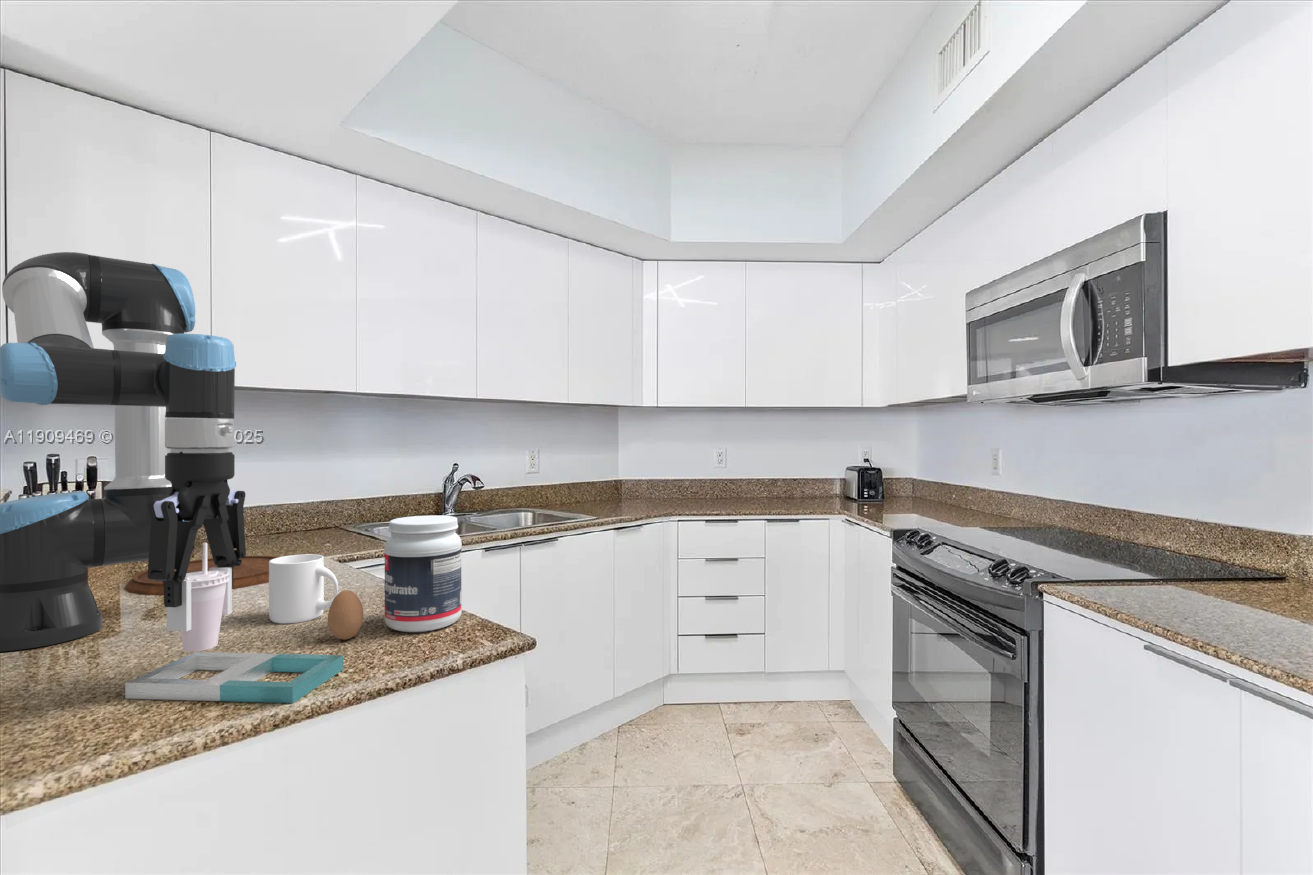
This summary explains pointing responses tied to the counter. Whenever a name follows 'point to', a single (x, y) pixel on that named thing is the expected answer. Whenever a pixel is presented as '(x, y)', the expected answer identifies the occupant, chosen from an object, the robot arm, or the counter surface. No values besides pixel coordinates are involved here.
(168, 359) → the robot arm
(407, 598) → the supplement tub
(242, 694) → the rail
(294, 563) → the mug
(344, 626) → the egg
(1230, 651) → the counter surface
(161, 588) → the cutting board
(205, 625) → the smoothie
